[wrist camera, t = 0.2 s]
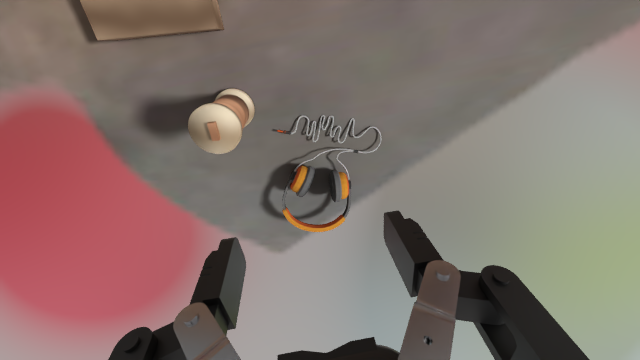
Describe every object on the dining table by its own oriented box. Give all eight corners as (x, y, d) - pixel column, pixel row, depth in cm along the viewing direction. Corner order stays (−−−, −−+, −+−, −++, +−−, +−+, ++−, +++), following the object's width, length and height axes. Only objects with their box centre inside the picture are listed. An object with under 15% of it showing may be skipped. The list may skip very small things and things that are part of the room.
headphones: (391, 125, 38) (361, 243, 43) (379, 123, 44) (353, 229, 48) (280, 103, 36) (261, 231, 40) (281, 104, 41) (264, 218, 46)
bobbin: (211, 90, 36) (178, 109, 26) (250, 86, 37) (232, 103, 26) (221, 128, 39) (195, 158, 29) (258, 124, 39) (244, 152, 29)
